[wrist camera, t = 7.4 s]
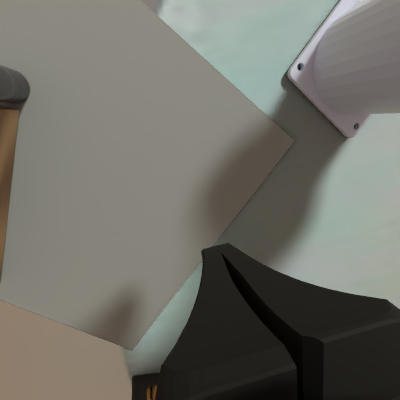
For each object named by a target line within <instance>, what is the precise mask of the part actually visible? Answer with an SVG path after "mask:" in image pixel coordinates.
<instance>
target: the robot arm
mask: <svg viewBox="0 0 400 400" xmlns="http://www.w3.org/2000/svg"><path fill="white" fill-rule="evenodd" d="M298 64H300V66H301V69H300V71H299V70H298V69H297V66H298ZM287 75H288V78H289V80H290V81H291V82H292V83H293V84H294V85H295V86H296V87H297V88H298V89H299V90H300V91H301V92H302V93H303V94H304V95H305V96H306V97H307V98H308V99H309V100H310V101H311V102H312V103H313V104H314V105H315V106H316V107H317V108H318V109H319V110H320V111H321V112H322V113H323V114H324V115H325V116H326V117H327V118H328V119H329V120H330V121H331V122H332V123H333V124H334V125H335V126H336V127H337V128H338V129H339V130H340V131H341V133H342V134H343V135H344V136H346V137H350V138H352V137H354V136H355V135H356V134H357V133H358V131H359V130H360V129H361V128H362V126H363V125H364V124H365V123H366V122H367V120H368V119H369V118H370V117H371V115H372V114H384V113H400V0H339V2H338V3H337V5H336V6H335V7H334V9H333V10H332V11H331V13H330V14H329V15H328V17H327V18H326V19H325V21H324V22H323V24H322V25H321V26H320V28H319V29H318V30H317V32H316V33H315V34H314V36H313V37H312V38H311V40H310V41H309V43H308V44H307V45H306V47H305V48H304V49H303V51H302V52H301V53H300V55H299V56H298V57H297V59H296V60H295V62H294V63H293V64H292V66H291V67H290V68H289V70H288V73H287ZM354 124H355V125H356V127H355V128H354ZM201 255H202V260H203V267H202V276H201V282H200V287H199V291H198V295H197V298H196V301H195V304H194V307H193V309H192V312H191V315H190V317H189V319H188V322H187V324H186V326H185V328H184V330H183V331H182V333H181V335H180V337H179V339H178V341H177V343H176V344H175V346H174V348H173V349H172V351H171V352H170V354H169V355H168V357H167V358H166V360H165V361H164V363H163V364H162V366H161V370H160V374H159V379H158V383H157V389H156V394H155V400H400V309H398V308H397V307H396V306H394V305H393V304H392V303H390V302H389V301H388V300H386V299H379V298H373V297H367V296H360V295H354V294H349V293H344V292H340V291H335V290H331V289H327V288H323V287H319V286H316V285H313V284H309V283H306V282H303V281H300V280H297V279H295V278H292V277H290V276H287V275H285V274H282V273H280V272H278V271H275V270H273V269H271V268H269V267H267V266H265V265H263V264H261V263H260V262H258V261H256V260H254V259H253V258H251V257H249V256H248V255H246V254H244V253H243V252H241V251H240V250H238V249H237V248H235V247H234V246H232V245H231V244H229V243H226V244H222V245H218V246H214V247H209V248H205V249H203V250H202V251H201Z"/></svg>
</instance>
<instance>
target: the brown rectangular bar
mask: <svg viewBox="0 0 400 400" xmlns="http://www.w3.org/2000/svg"><path fill="white" fill-rule="evenodd" d="M18 117H19V110H15V109H12V108H8V107H5V106H1V105H0V281H1V272H2V263H3V254H4V245H5V235H6V226H7V217H8V208H9V199H10V190H11V181H12V171H13V162H14V153H15V144H16V135H17V126H18Z"/></svg>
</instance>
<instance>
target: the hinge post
mask: <svg viewBox="0 0 400 400" xmlns="http://www.w3.org/2000/svg"><path fill="white" fill-rule="evenodd" d="M29 95H30V86H29V83H28V81H27V79H26V78H25V77H24V76H23V75H22V74H21V73H20V72H18V71H16V70H13V69H10V68H8V67H5V66H2V65H0V102H5V103H13V104H19V103H22V102H24V101H26V100H27V98H28V97H29Z"/></svg>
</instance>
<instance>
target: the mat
mask: <svg viewBox="0 0 400 400" xmlns="http://www.w3.org/2000/svg"><path fill="white" fill-rule="evenodd" d="M0 65H2V66H5V67H8V68H10V69H13V70H16V71H18V72H20V73H21V74H22V75H23V76H24V77H25V78H26V79H27V81H28V83H29V86H30V95H29V97H28V98H27V100H26V101H24V102H22V103H19V104H13V103H5V102H0V105H1V106H5V107H8V108H12V109H15V110H19V117H18V126H17V135H16V144H15V153H14V162H13V171H12V181H11V190H10V199H9V208H8V217H7V226H6V235H5V245H4V254H3V263H2V272H1V281H0V300H1V301H3V302H6V303H9V304H12V305H14V306H17V307H19V308H22V309H25V310H28V311H30V312H33V313H35V314H38V315H41V316H43V317H46V318H48V319H51V320H54V321H56V322H59V323H62V324H64V325H67V326H70V327H72V328H75V329H78V330H80V331H83V332H86V333H88V334H91V335H94V336H96V337H99V338H102V339H104V340H107V341H109V342H112V343H115V344H117V345H120V346H123V347H125V348H128V349H131V350H132V349H133V348H134V347H135V345H136V344H137V343H138V342H139V340H140V339H141V338H142V336H143V335H144V334H145V333H146V331H147V330H148V329H149V327H150V326H151V325H152V324H153V322H154V321H155V320H156V318H157V317H158V316H159V315H160V313H161V312H162V311H163V309H164V308H165V307H166V306H167V304H168V303H169V302H170V300H171V299H172V298H173V297H174V295H175V294H176V293H177V291H178V290H179V289H180V288H181V286H182V285H183V284H184V282H185V281H186V280H187V279H188V277H189V276H190V275H191V273H192V272H193V271H194V270H195V268H196V267H197V266H198V265H199V263H200V262H201V261H202V255H201V251H202V250H203V249H205V248H209V247H213V245H214V244H215V243H216V241H217V240H218V239H219V238H220V236H221V235H222V234H223V232H224V231H225V230H226V229H227V227H228V226H229V225H230V223H231V222H232V221H233V220H234V218H235V217H236V216H237V214H238V213H239V212H240V211H241V209H242V208H243V207H244V205H245V204H246V203H247V202H248V200H249V199H250V198H251V196H252V195H253V194H254V193H255V191H256V190H257V189H258V187H259V186H260V185H261V184H262V182H263V181H264V180H265V178H266V177H267V176H268V175H269V173H270V172H271V171H272V169H273V168H274V167H275V166H276V164H277V163H278V162H279V160H280V159H281V158H282V157H283V155H284V154H285V153H286V151H287V150H288V149H289V148H290V146H291V145H292V144H293V142H294V141H295V140H293V139H292V138H291V137H290V136H289V135H288V134H287V133H286V132H285V131H284V130H282V129H281V128H280V127H279V126H278V125H277V124H276V123H275V122H274V121H273V120H271V119H270V118H269V117H268V116H267V115H266V114H265V113H264V112H263V111H262V110H260V109H259V108H258V107H257V106H256V105H255V104H254V103H253V102H252V101H251V100H249V99H248V98H247V97H246V96H245V95H244V94H243V93H242V92H241V91H240V90H238V89H237V88H236V87H235V86H234V85H233V84H232V83H231V82H230V81H229V80H227V79H226V78H225V77H224V76H223V75H222V74H221V73H220V72H219V71H218V70H216V69H215V68H214V67H213V66H212V65H211V64H210V63H209V62H208V61H207V60H205V59H204V58H203V57H202V56H201V55H200V54H199V53H198V52H197V51H196V50H194V49H193V48H192V47H191V46H190V45H189V44H188V43H187V42H186V41H185V40H183V39H182V38H181V37H180V36H179V35H178V34H177V33H176V32H175V31H174V30H173V29H171V28H170V27H169V26H168V25H167V24H166V23H165V22H164V21H163V20H162V19H160V18H159V17H158V16H157V15H156V14H155V13H154V12H153V11H152V10H151V9H149V8H148V7H147V6H146V5H145V4H144V3H143V2H142V1H141V0H0Z"/></svg>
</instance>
